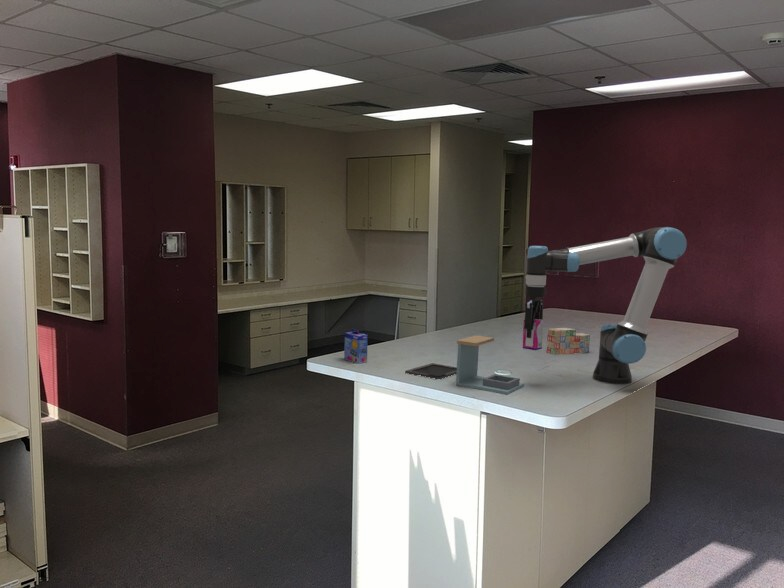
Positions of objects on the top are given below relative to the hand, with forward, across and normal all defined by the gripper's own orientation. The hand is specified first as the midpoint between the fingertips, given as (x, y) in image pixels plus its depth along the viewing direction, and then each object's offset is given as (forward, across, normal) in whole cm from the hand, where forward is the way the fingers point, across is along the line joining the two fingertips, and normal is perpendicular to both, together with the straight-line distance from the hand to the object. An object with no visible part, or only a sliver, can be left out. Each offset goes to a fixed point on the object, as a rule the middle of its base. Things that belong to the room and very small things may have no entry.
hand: (532, 344), depth 257 cm
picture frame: (+16, +8, -38) cm, 42 cm away
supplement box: (+2, 0, 0) cm, 2 cm away
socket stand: (+15, +14, -11) cm, 24 cm away
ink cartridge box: (+15, +13, -75) cm, 78 cm away
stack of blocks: (+16, -77, -10) cm, 79 cm away
